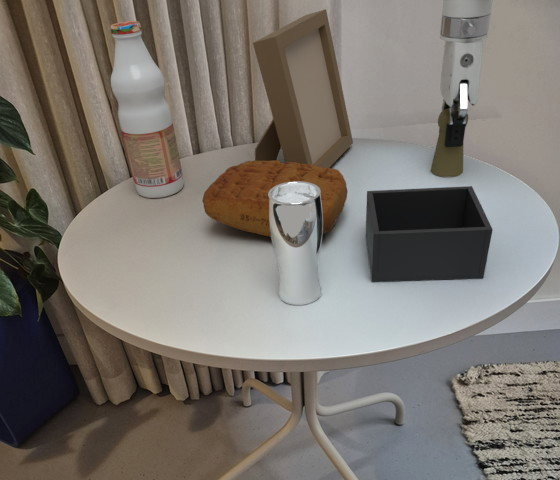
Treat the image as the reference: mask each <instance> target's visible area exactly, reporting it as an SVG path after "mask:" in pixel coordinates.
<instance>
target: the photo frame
mask: <svg viewBox="0 0 560 480" xmlns="http://www.w3.org/2000/svg"><path fill="white" fill-rule="evenodd" d="M327 11H328V10H327V8H325V9H322V10H318V11H315V12H311V13H308V14H305V15H303V16H301V17H298V18H297V19H295V20H293V21H291V22H290V23H288V24H285V25H284V26H282V27H280V28H278V29H276V30H274V31H273V32H270V33H269V34H266V35H264V36H263V37H261V38H259V39H257V40H256V41H253V42H252V46H253V49H254V53H255V56H256V60H257V63H258V67H259V71H260V75H261V79H262V83H263V85H264V89H265V93H266V97H267V100H268V105H269V108H270V111H271V114H272V120H271V121H270V123H269V125H268V126H267V128H266V129H265V131H264V133H263V135H262V137H261V138H260V139H259V141H258V143H257V144H256V146H255V148H254V161H272V160H276V161H278V160H277V159H278V157H279V154H280V151H281V152H282V155H283V159H284V163H286V162H296V163H300V164H306V165H308V164H312V165H315V166H318V167H324V168H331V167H332V166H333V165H334V164H335V163H336V161H338V159H339V158H340V157H341V156H342V155H343V154H344V153H346V151H347V150H348V149H349V148H350V147H351V146H352V145H353V144H354V140H353V135H352V130H351V126H350V121H349V116H348V110H347V105H346V99H345V96H344V91H343V86H342V81H341V77H340V72H339V67H338V61H337V57H336V51H335V46H334V41H333V37H332V32H331V27H330V21H329V16H328V12H327Z"/></svg>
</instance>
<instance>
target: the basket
mask: <svg viewBox="0 0 560 480" xmlns="http://www.w3.org/2000/svg"><path fill="white" fill-rule="evenodd" d="M365 208H366V209H365V242H366V249H367V257H368V265H369V272H370V280H371V283H389V282H411V281H412V282H416V281H417V282H419V281H444V280H447V281H451V280H477V279H479V280H480V279H484V277H485V272H486V267H487V261H488V257H489V251H490V246H491V241H492V236H493V231H494V230H493V227H492V225H491V222H490V220H489V218H488V217H487V215H486V213H485V210H484V209H483V206H482V204H481V201H480V200H479V198H478V196H477V193H476V192H475V189H474V187H473V186H472V185H469V186H446V187H425V188H423V187H422V188H404V189H403V188H401V189H381V190H379V189H378V190H367V191H366V207H365Z"/></svg>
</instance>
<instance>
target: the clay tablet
mask: <svg viewBox="0 0 560 480" xmlns="http://www.w3.org/2000/svg"><path fill="white" fill-rule="evenodd" d="M293 181H303V182H309V183H313V184H315V185H317V186H318V187H319V188H320V190H321V202H322V212H323V235H324V234H327V233H329V232H331V230H332V229H333V228H334V227H335V225H336V222H337V220H338V218H339V216H340V215H341V213H342V212H343V210H344V207H345V204H346V201H347V197H348V187H347V182H346V180H345V178H344V175H343V174H342V173H341V171H340V170H339V169H336V168H332V167H329V168H324V167H318V166H315V165H312V164H308V165H306V164H300V163H296V162H286V163H285V162H280V161H279V160H272V161H255V160H247V161H243V162H242V163H241V162H240V163H239V164H236V165H233V166H230V167H228V168H226V170H225V171H224V172H222V173H221V174H220V175H219V176H218V177H217V178H216V179H215V180H214V181H213V182H212V183H211V184H210V185H209V187H208V188H207V189H206V190H205V191H204V193H203V197H202V203H203V209H204V213H205V214H206V215H207V216H208V217H209V218H210V219H211V220H214V221H216V222H219V223H220V224H223V225H225V226H227V227H231V228H234V229H236V230H240V231H244V232H248V233H252V234H256V235H260V236H265V237H270V238H271V235H270V228H269V209H268V207H269V198H268V193H269V191H270V190H271V189H272V188H273V187H275V186H276V185H279V184H282V183H286V182H293Z"/></svg>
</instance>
